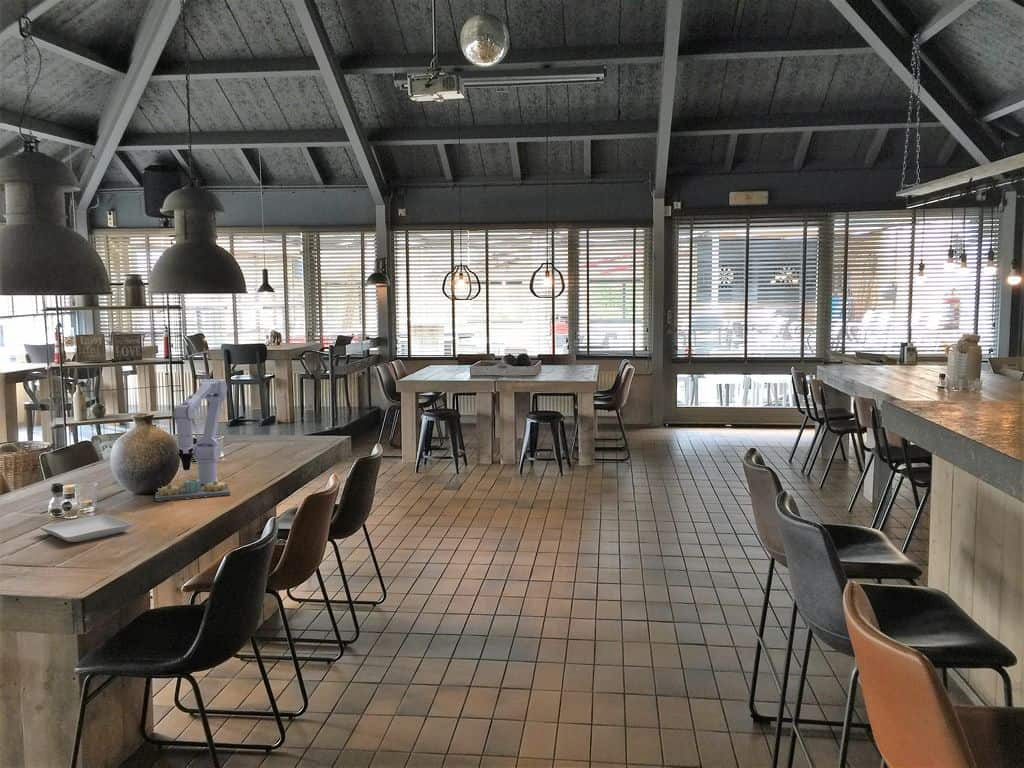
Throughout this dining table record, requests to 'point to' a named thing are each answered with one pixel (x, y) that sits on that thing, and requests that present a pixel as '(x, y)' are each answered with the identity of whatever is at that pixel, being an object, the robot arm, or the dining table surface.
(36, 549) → the dining table surface
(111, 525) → the salad plate
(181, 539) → the dining table surface
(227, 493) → the gear board
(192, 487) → the teal gear
